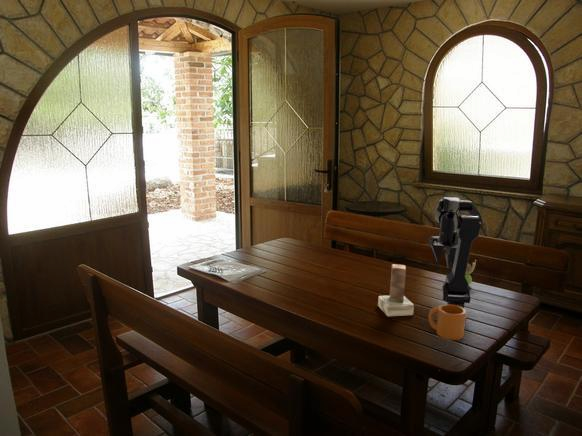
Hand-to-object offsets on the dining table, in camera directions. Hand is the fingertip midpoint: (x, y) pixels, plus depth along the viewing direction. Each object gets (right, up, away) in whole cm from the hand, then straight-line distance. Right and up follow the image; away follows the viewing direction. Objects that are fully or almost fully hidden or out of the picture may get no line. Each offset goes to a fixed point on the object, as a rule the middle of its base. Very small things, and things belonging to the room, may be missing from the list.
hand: (443, 265), depth 193 cm
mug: (-9, -20, -31) cm, 38 cm away
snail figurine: (+15, -11, +15) cm, 24 cm away
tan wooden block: (-23, -12, -14) cm, 29 cm away
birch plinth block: (-23, -16, -13) cm, 31 cm away
